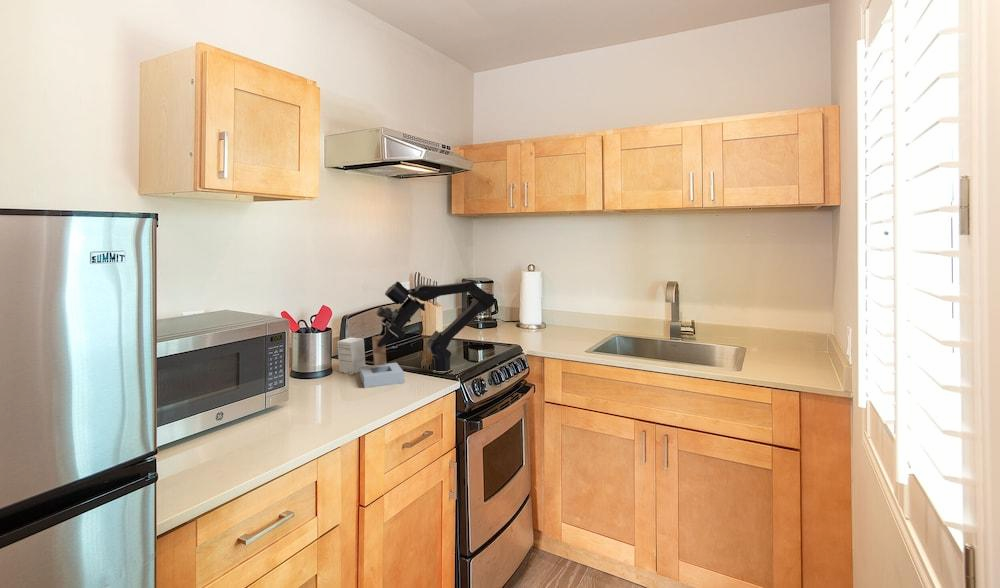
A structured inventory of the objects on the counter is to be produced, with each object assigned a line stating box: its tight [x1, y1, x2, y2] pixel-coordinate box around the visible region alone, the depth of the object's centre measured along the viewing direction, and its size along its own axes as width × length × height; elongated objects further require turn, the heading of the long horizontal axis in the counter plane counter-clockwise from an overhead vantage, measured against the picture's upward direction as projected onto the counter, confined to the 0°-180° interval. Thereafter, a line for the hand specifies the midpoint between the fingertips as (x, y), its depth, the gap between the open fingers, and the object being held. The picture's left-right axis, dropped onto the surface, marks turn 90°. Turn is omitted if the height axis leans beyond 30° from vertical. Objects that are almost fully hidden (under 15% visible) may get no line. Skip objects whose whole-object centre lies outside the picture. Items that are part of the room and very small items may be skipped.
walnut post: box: [371, 335, 387, 366], centre depth 176 cm, size 4×4×10 cm
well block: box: [358, 362, 405, 389], centre depth 177 cm, size 14×14×4 cm
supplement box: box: [336, 337, 366, 375], centre depth 189 cm, size 7×7×13 cm
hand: (377, 345), depth 175 cm, fingers closed on walnut post, 4 cm apart
